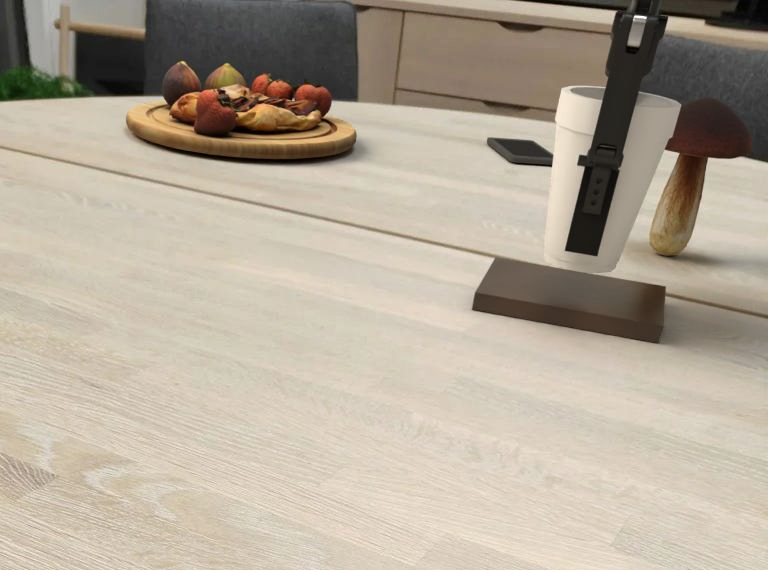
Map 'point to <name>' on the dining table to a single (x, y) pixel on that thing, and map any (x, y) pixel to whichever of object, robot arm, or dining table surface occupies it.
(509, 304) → the walnut board
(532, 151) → the cell phone
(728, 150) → the decorative mushroom
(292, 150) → the wooden plate
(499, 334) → the dining table surface
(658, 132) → the foam cup
